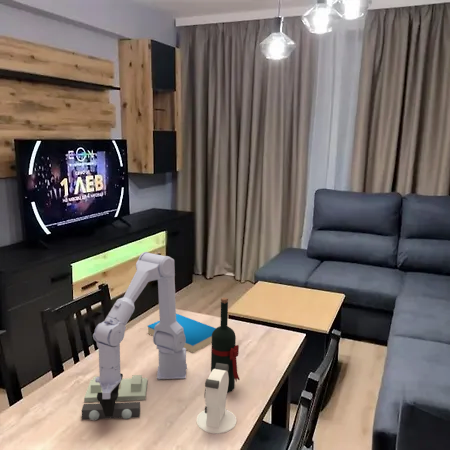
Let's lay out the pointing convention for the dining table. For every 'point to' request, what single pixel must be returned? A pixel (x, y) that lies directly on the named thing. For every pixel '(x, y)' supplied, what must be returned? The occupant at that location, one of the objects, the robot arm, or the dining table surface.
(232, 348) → the wine bottle
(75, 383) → the dining table surface
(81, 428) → the dining table surface
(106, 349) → the robot arm
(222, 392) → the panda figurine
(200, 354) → the dining table surface
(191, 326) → the book
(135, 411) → the bar
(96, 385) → the stand
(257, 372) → the dining table surface
